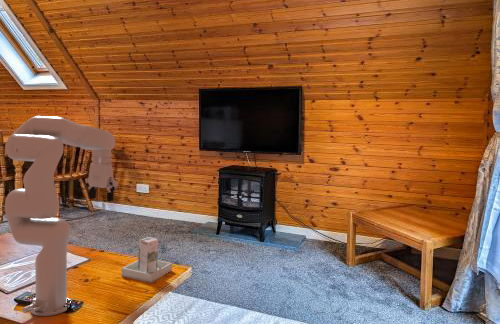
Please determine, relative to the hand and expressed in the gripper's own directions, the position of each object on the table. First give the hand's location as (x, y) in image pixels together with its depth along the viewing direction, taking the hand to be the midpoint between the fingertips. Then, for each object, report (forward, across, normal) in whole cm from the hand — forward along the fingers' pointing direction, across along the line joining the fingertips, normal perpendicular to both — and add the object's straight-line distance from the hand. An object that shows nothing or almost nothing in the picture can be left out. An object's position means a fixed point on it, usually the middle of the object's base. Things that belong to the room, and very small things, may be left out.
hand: (101, 199), depth 168 cm
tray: (+30, +22, +4) cm, 38 cm away
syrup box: (+30, +22, +4) cm, 37 cm away
